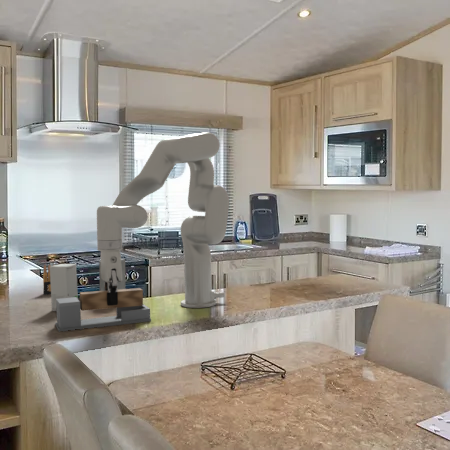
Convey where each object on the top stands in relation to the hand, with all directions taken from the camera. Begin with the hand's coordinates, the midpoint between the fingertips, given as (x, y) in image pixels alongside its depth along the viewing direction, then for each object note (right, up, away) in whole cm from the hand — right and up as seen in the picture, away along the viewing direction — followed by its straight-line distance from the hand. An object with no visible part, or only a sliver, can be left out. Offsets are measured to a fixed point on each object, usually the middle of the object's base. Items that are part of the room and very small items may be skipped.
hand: (110, 303), depth 175 cm
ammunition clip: (-32, -3, +50) cm, 60 cm away
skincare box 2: (-6, -4, +32) cm, 33 cm away
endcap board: (-2, -6, 0) cm, 7 cm away
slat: (0, -1, 0) cm, 1 cm away
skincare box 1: (-20, -5, +21) cm, 30 cm away
